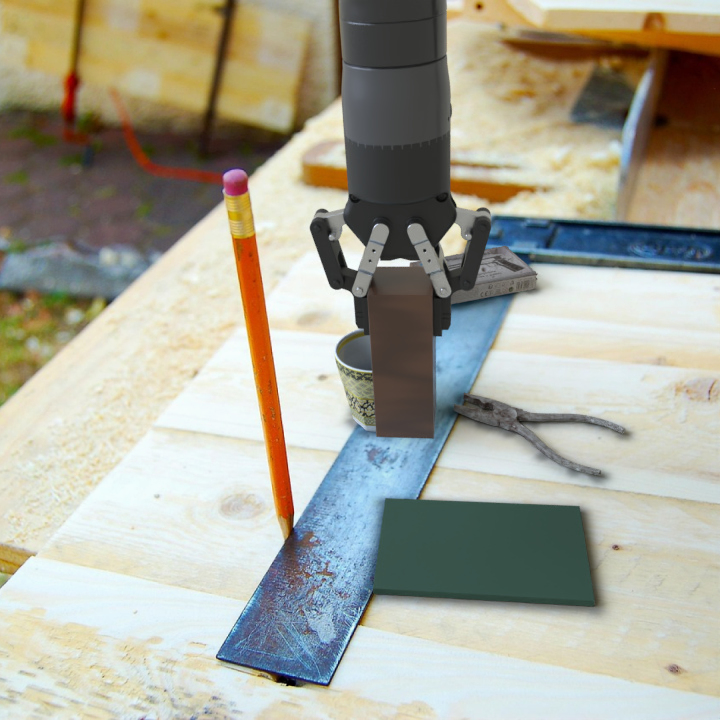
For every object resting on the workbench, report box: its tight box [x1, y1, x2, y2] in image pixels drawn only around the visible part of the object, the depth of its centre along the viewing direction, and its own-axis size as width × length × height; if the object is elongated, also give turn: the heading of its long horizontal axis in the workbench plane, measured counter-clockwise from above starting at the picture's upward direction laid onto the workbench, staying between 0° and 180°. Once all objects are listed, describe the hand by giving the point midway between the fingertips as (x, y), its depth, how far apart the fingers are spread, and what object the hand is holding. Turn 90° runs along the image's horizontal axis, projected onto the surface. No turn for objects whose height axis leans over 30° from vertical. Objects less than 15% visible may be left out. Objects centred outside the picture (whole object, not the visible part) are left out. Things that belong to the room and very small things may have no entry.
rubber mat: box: [372, 497, 596, 607], centre depth 75 cm, size 20×12×1 cm, turn 83°
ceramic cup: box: [333, 328, 376, 433], centre depth 90 cm, size 13×10×10 cm
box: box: [409, 245, 539, 305], centre depth 120 cm, size 11×17×3 cm, turn 108°
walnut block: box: [367, 266, 437, 440], centre depth 64 cm, size 5×5×14 cm
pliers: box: [452, 392, 626, 476], centre depth 89 cm, size 10×1×20 cm
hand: (404, 330), depth 63 cm, fingers closed on walnut block, 5 cm apart
